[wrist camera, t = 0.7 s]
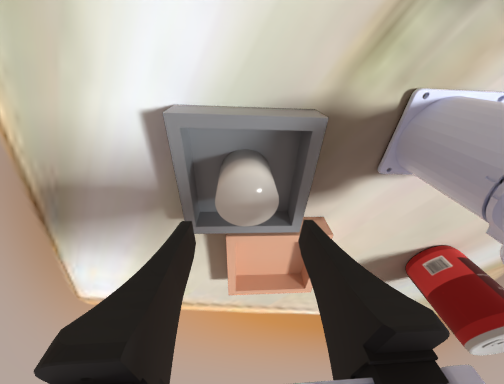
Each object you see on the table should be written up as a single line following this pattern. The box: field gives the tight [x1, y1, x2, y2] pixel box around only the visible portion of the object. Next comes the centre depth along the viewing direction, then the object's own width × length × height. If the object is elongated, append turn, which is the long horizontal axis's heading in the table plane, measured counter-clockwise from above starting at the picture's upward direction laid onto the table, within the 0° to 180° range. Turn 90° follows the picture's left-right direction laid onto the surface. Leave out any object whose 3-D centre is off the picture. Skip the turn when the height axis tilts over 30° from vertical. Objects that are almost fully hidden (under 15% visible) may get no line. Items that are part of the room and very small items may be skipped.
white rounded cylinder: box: [215, 149, 279, 226], centre depth 17 cm, size 5×5×5 cm
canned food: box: [406, 246, 504, 355], centre depth 26 cm, size 8×8×11 cm
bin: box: [163, 105, 329, 234], centre depth 18 cm, size 12×12×3 cm
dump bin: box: [226, 217, 333, 295], centre depth 26 cm, size 12×12×3 cm
